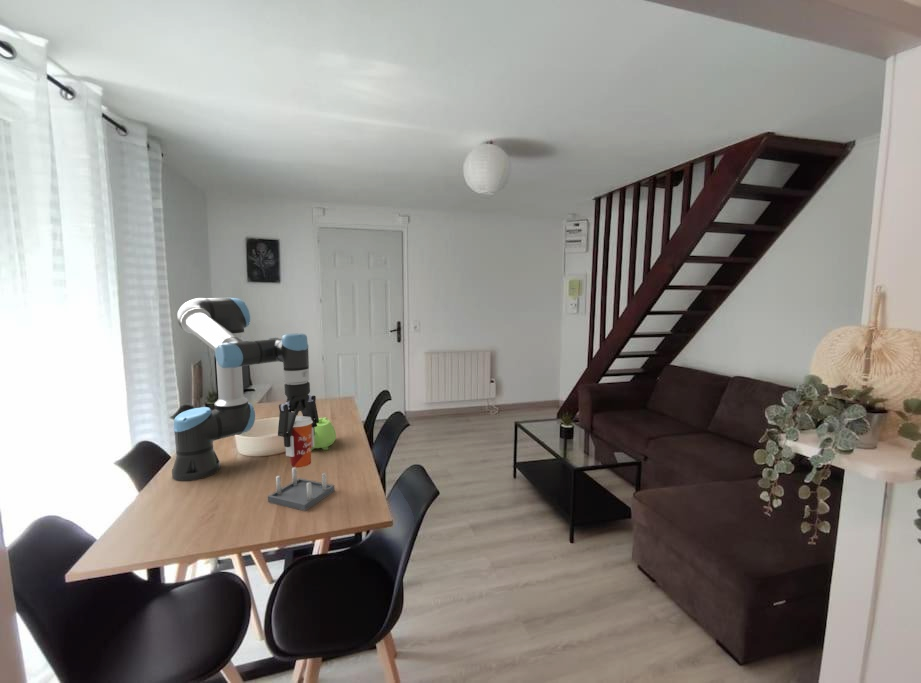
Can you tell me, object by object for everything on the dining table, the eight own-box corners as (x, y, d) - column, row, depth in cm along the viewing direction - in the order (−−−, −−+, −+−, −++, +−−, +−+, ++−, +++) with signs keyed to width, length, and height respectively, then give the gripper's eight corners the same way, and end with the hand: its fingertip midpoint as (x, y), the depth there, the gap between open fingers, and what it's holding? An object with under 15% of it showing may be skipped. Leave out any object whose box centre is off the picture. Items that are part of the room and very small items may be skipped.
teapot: (330, 455, 170) (328, 425, 169) (296, 456, 170) (295, 426, 168) (340, 438, 190) (339, 411, 189) (311, 439, 189) (310, 412, 188)
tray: (267, 502, 132) (266, 480, 131) (299, 483, 145) (298, 463, 144) (304, 511, 126) (303, 488, 126) (334, 491, 139) (333, 470, 139)
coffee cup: (305, 469, 129) (303, 423, 128) (282, 467, 131) (279, 421, 129) (319, 459, 137) (317, 415, 136) (297, 457, 139) (295, 414, 138)
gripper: (280, 390, 120) (284, 464, 123) (328, 376, 140) (331, 441, 142) (261, 388, 123) (265, 461, 125) (311, 375, 142) (314, 439, 145)
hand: (300, 450), depth 134 cm, fingers closed on coffee cup, 8 cm apart
